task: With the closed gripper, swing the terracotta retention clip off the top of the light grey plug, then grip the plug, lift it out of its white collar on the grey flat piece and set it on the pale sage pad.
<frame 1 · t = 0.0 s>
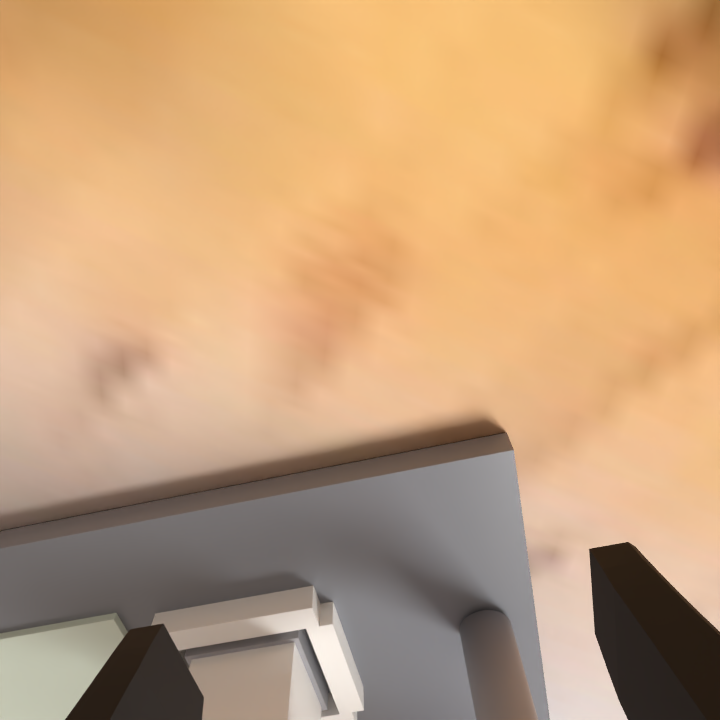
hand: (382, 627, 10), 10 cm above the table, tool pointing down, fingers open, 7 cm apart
plug: (261, 661, 24), point 1 cm above the table, touching grey flat piece
grey flat piece: (264, 639, 25), on the table
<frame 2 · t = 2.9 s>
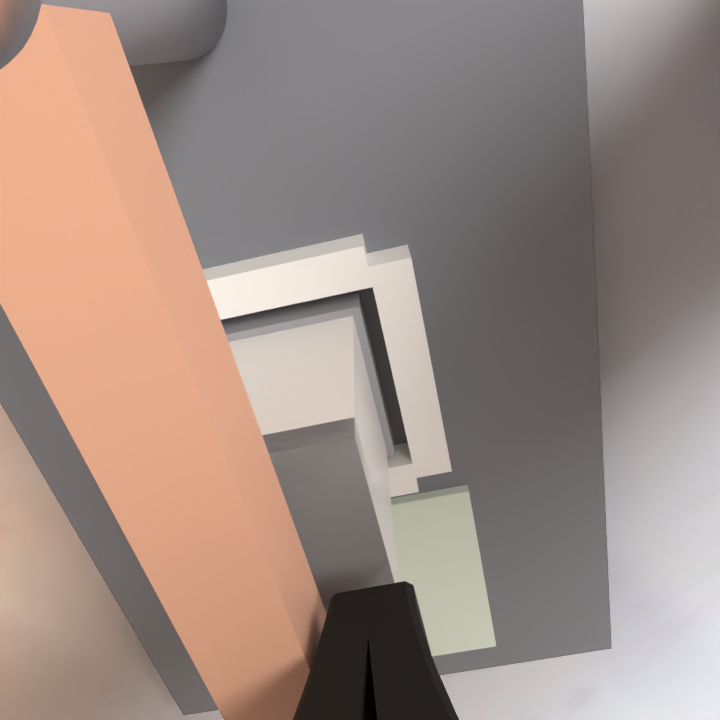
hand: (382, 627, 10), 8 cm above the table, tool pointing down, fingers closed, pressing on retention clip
plug: (297, 382, 16), point 1 cm above the table, touching grey flat piece
grey flat piece: (299, 365, 17), on the table
retention clip: (230, 346, 11), point 5 cm above the table, hinge at 0.0°, touching gripper
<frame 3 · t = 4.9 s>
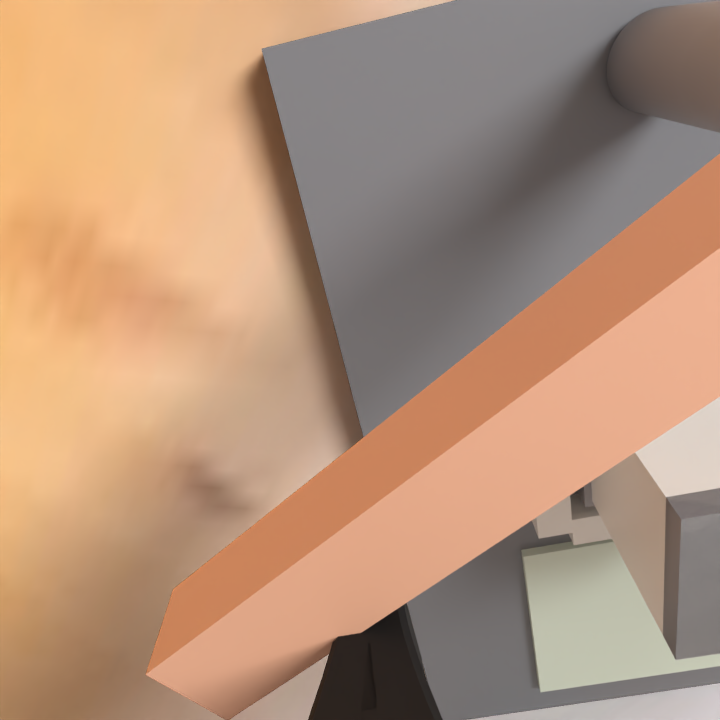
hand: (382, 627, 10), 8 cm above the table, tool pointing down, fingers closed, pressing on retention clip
plug: (648, 410, 17), point 1 cm above the table, touching grey flat piece
grey flat piece: (634, 392, 18), on the table
retention clip: (478, 313, 11), point 5 cm above the table, hinge at 58.6°, touching gripper
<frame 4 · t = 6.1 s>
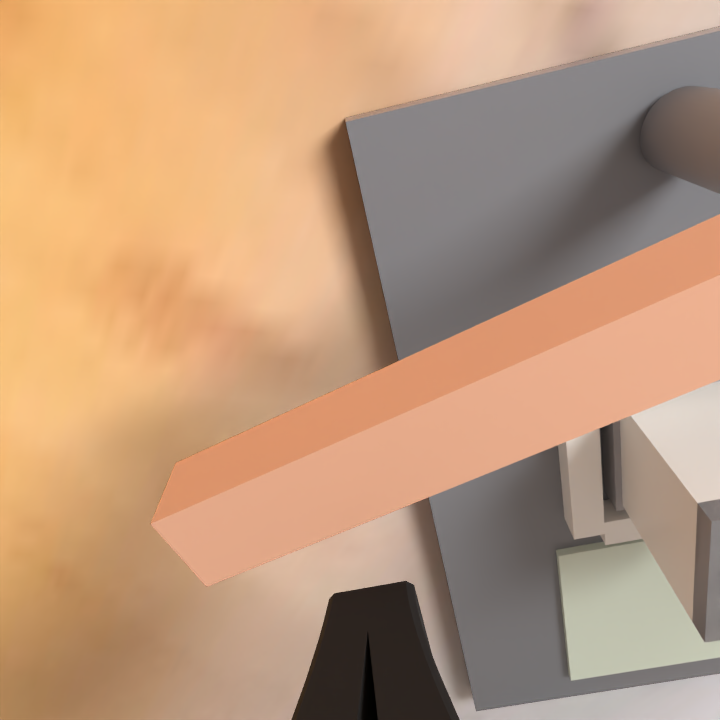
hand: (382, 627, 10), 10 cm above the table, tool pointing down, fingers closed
plug: (672, 424, 19), point 1 cm above the table, touching grey flat piece
grey flat piece: (658, 407, 20), on the table
retention clip: (501, 291, 12), point 5 cm above the table, hinge at 75.6°
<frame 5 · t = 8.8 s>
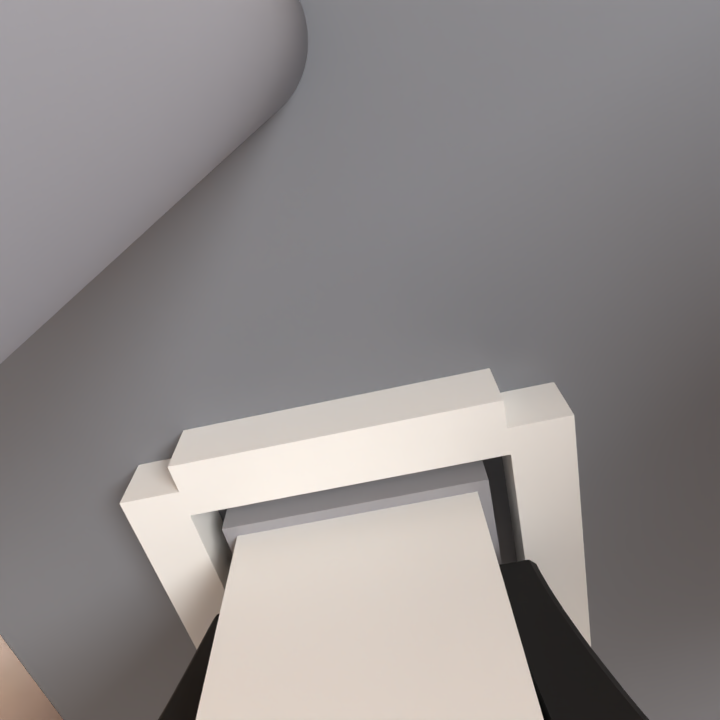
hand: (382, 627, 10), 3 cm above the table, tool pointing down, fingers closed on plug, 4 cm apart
plug: (378, 556, 12), point 1 cm above the table, touching gripper, grey flat piece
grey flat piece: (375, 520, 12), on the table
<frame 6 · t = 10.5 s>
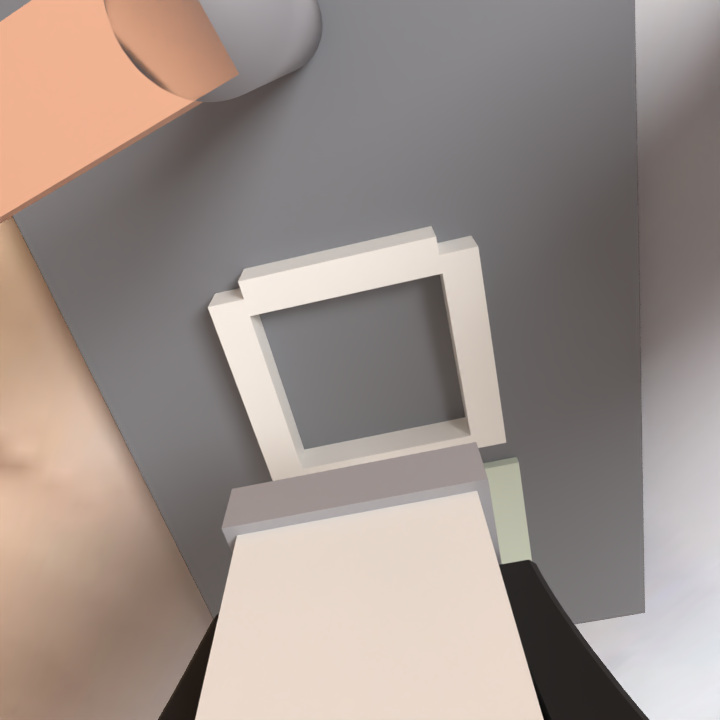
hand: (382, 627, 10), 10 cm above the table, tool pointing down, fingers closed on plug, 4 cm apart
plug: (377, 555, 12), point 8 cm above the table, touching gripper
grey flat piece: (364, 347, 19), on the table
when the fingers open (4 cm above the table, at t = 12.5 s): plug drops 1 cm, resting on grey flat piece.
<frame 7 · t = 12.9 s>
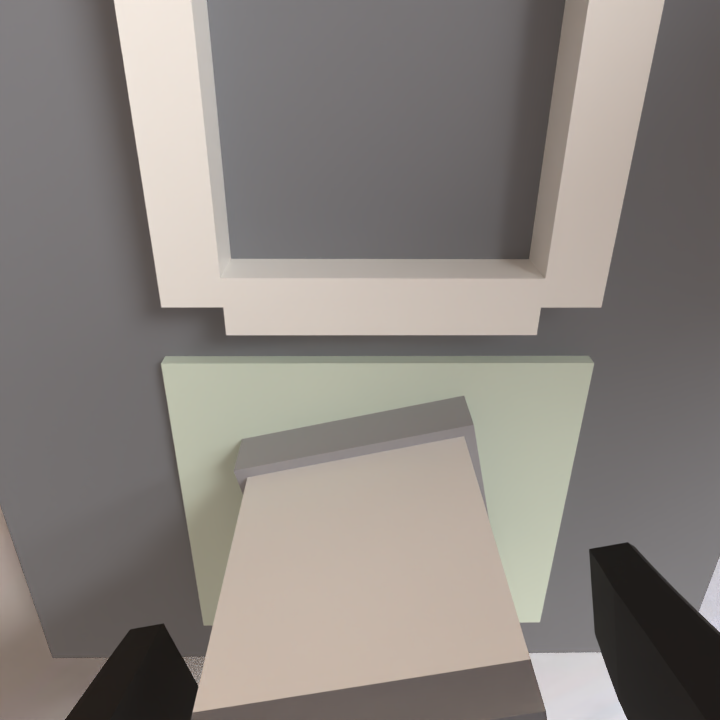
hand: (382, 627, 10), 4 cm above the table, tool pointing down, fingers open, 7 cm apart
plug: (374, 503, 13), point 1 cm above the table, touching grey flat piece
grey flat piece: (381, 92, 10), on the table
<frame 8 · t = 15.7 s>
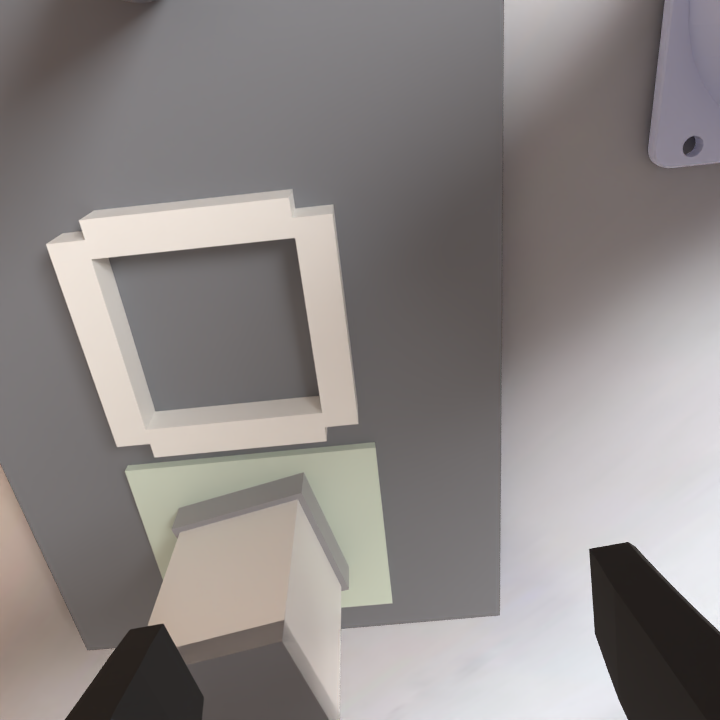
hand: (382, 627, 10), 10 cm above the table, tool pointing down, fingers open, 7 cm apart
plug: (266, 538, 21), point 1 cm above the table, touching grey flat piece
grey flat piece: (227, 312, 18), on the table
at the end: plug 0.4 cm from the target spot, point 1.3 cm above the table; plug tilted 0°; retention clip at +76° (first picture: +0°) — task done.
